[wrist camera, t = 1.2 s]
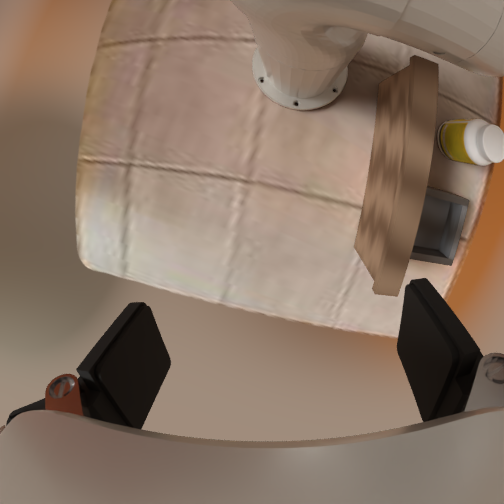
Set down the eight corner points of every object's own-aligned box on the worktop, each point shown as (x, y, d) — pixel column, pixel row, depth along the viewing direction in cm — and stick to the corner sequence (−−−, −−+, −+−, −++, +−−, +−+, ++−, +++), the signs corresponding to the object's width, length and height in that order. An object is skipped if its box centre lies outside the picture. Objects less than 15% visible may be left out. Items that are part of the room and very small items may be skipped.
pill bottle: (449, 168, 34) (492, 179, 24) (428, 133, 33) (470, 133, 22) (472, 147, 32) (516, 153, 22) (453, 113, 31) (496, 109, 20)
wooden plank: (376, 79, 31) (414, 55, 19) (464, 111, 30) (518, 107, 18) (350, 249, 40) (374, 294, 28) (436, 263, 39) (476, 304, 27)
